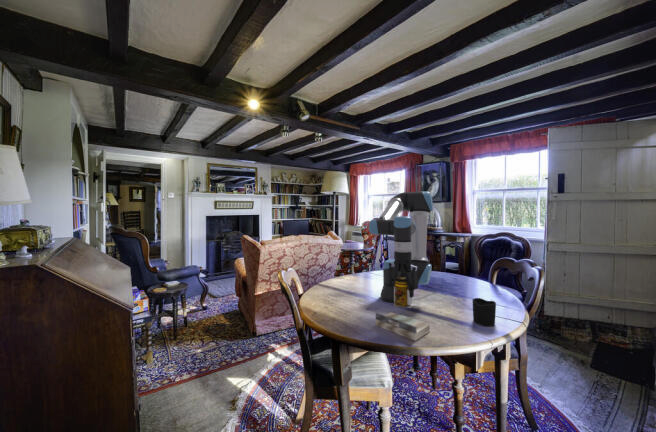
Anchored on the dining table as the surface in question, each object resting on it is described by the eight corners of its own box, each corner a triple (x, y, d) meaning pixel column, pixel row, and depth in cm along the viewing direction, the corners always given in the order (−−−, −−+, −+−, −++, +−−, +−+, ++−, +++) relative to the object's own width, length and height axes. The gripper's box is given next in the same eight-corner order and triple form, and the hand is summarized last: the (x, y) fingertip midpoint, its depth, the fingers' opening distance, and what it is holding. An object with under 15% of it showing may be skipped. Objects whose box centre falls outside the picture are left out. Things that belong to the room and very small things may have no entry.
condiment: (393, 306, 117) (393, 279, 117) (394, 300, 125) (394, 274, 125) (410, 308, 115) (410, 280, 114) (410, 301, 123) (410, 275, 122)
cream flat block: (375, 325, 123) (375, 313, 122) (390, 317, 131) (390, 306, 131) (414, 341, 108) (414, 327, 108) (429, 331, 116) (429, 318, 116)
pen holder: (487, 318, 129) (487, 297, 129) (500, 326, 120) (500, 304, 119) (468, 318, 129) (468, 298, 128) (480, 327, 119) (480, 305, 119)
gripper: (380, 249, 124) (380, 299, 124) (418, 254, 109) (418, 310, 110) (389, 247, 129) (389, 295, 129) (427, 252, 115) (427, 305, 115)
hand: (402, 302), depth 120 cm, fingers closed on condiment, 6 cm apart
